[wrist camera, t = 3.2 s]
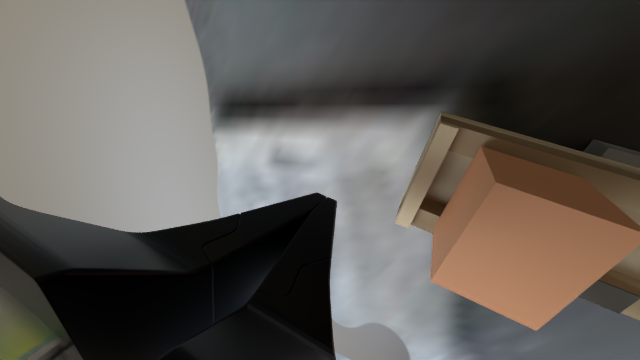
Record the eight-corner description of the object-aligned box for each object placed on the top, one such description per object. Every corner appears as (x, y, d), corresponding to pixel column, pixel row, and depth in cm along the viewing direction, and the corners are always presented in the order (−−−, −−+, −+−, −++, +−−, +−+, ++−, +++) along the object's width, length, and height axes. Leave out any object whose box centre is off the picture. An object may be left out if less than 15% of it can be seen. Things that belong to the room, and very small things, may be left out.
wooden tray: (773, 337, 13) (909, 453, 9) (402, 193, 18) (391, 229, 15) (976, 244, 10) (1333, 368, 6) (445, 98, 15) (445, 112, 11)
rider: (506, 243, 14) (536, 330, 9) (434, 214, 15) (430, 280, 11) (569, 165, 11) (650, 235, 7) (477, 137, 12) (495, 182, 8)
